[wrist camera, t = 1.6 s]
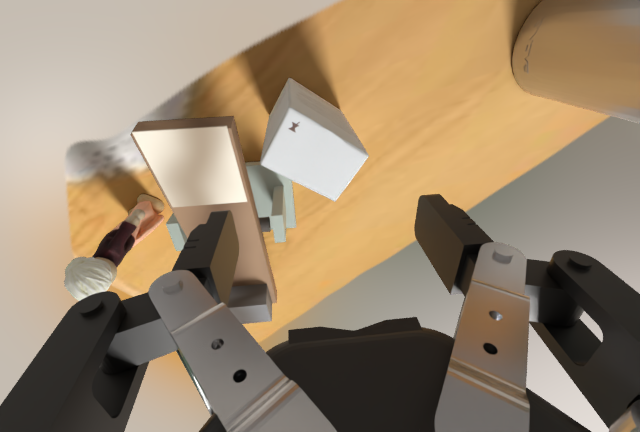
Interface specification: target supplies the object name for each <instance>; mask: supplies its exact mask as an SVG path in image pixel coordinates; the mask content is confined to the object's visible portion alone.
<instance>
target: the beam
mask: <svg viewBox="0 0 640 432" xmlns="http://www.w3.org/2000/svg"><path fill="white" fill-rule="evenodd" d="M131 136H132V138H133V140H134V142H135V144H136V146H137V147H138V149H139V151H140V153H141V155H142V156H143V158H144V160H145V162H146V164H147V166H148V167H149V169H150V171H151V173H152V175H153V177H154V178H155V180H156V182H157V184H158V186H159V187H160V189H161V191H162V193H163V195H164V197H165V198H166V200H167V202H168V204H169V206H170V208H171V209H172V211H173V213H174V215H175V217H176V218H177V220H178V222H179V224H180V226H181V228H182V229H183V231H184V233H185V235H186V237H187V238H188V237H189V235H190V232H191V231H192V230H194V229H195V228H196V227H197V226H198V225H199V224H206V223H207V220H208V218H209V216H210V213H211V212H212V211H225V210H230V211H231V212H232V215H233V219H234V224H235V228H236V232H237V236H238V241H239V256H238V261H237V265H236V270H235V274H234V279H233V283H232V288H231V292H230V297H229V301H228V305H227V307H228V308H229V309H230V311H231V312H232V313H233V314H234V315H235V317H236V318H237V319H238V320H239V321H240V323H241V324H246V323H257V322H267V321H272V303H277V290H276V286H275V282H274V278H273V274H272V270H271V266H270V262H269V258H268V254H267V249H266V245H265V241H264V237H263V233H262V232H270V218H269V217H260V218H259V217H258V213H257V209H256V205H255V201H254V197H253V193H252V189H251V185H250V181H249V177H248V173H247V169H246V165H245V160H244V156H243V152H242V148H241V144H240V140H239V136H238V132H237V128H236V124H235V120H234V116H226V117H209V118H193V119H176V120H160V121H143V122H138V123H137V125H136V127H135V128H134V130H133V131H132V133H131Z"/></svg>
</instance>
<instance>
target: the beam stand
mask: <svg viewBox="0 0 640 432" xmlns="http://www.w3.org/2000/svg"><path fill="white" fill-rule="evenodd" d="M245 165H246V169H247V173H248V177H249V181H250V185H251V189H252V193H253V197H254V201H255V205H256V209H257V213H258V217H259V218H260V217H269V218H270V229H273V232H274V238H275V243H278V242H286V228H295V227H296V217H295V207H294V197H293V187H292V180H290V179H288V178H286V177H284V176H282V175H280V174H278V173H276V172H274V171H272V170H270V169H268V168H266V167H264V166H262V165H261V164H260V161H259V162H245ZM166 226H167V228H168V231H169V233H170V236H171V239H172V241H173V244H174V247H175V249H176V251H182V249H183V247H184V245H185V243H186V242H187V239H188V238H187V237H186V235H185V233H184V231H183V229H182V228H181V226H180V224H179V222H178V220H177V218H176V217H175V215H174V213H173V214H172V216H171V217H170V219H169V220H168V222H167V223H166Z"/></svg>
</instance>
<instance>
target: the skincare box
mask: <svg viewBox="0 0 640 432" xmlns="http://www.w3.org/2000/svg"><path fill="white" fill-rule="evenodd" d="M368 157H369V155H368V153H367V152H366V150H365V148H364V147H363V145H362V143H361V142H360V140H359V139H358V137H357V135H356V134H355V132H354V131H353V129H352V127H351V126H350V124H349V122H348V121H347V119H346V118H345V116H344V114H343V113H342V111H341V110H340V109H338V108H337V107H335V106H333V105H332V104H330V103H329V102H327V101H326V100H324V99H323V98H321V97H319V96H318V95H316V94H315V93H313V92H312V91H310V90H309V89H307V88H305V87H304V86H302V85H301V84H299V83H298V82H296V81H294V80H293V79H291V78H288V80H287V82H286V84H285V86H284V88H283V90H282V92H281V94H280V95H279V97H278V99H277V101H276V103H275V105H274V108H273V110H272V112H271V114H270V116H269V120H268V124H267V129H266V135H265V140H264V145H263V150H262V155H261V160H260V164H261V165H262V166H264V167H266V168H268V169H270V170H272V171H274V172H276V173H278V174H280V175H282V176H284V177H286V178H288V179H290V180H292V181H294V182H296V183H298V184H300V185H302V186H305V187H307V188H309V189H311V190H313V191H315V192H317V193H319V194H321V195H323V196H325V197H327V198H329V199H331V200H333V201H336V200H337V199H338V197H339V196H340V195H341V193H342V192H343V191H344V189H345V188H346V187H347V185H348V184H349V182H350V181H351V180H352V178H353V177H354V176H355V174H356V173H357V172H358V170H359V169H360V168H361V166H362V165H363V164H364V162H365V161H366V159H367V158H368Z"/></svg>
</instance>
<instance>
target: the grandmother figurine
mask: <svg viewBox="0 0 640 432" xmlns="http://www.w3.org/2000/svg"><path fill="white" fill-rule="evenodd" d="M137 203H138V204H137V205H136V206H135V207H134V208H132V209H131V210H129V212H128V216H127V217H126V219H125V220H124V221H122V222H121V223H120V224H119V225H117V226H116V227H115V228H114V229H113V230H112V231H111V232H109V233H108V234H107V235H106V236H105V237H104V238H103V240H102V241H101V243H100V244H99V247H98V249H97V251H96V253H95V254H94V255H93V257H90V258H86V257H78V258H75V259H73V260H72V261H71V263H70V264H68V266H67V267H66V269H65V276H66V277H65V281H64V282H65V283H64V284H65V287H66V289H67V290H68V291H69V292H70V293H71V295H72V296H73V297H74V298H75V299H77V300H79V301H80V300H82V299H84V298H86V297H88V296H90V295H92V294H95V293H99V292H105V291H107V290H108V288H109V287H110V285H111V283H112V282H113V281H114V280H115V278H116V275H117V269H116V267H117V266H118V265H119V264H120V263H121V261H122V260H123V258H124V256H125V255H126V253H127V252H128V251H130V250H131V248H133V247H134V246H135V245H136V244H137V243H139V242H140V241H141V240H143V239H144V238H145V237H146V236H147V235H149V234H150V233H151V232H152V231H153V230H155V229H156V228H157V227H158V226H159V224H160V223H161V222H162V221H163V219H164V216H163V215H158V214H159V213H161V212H162V211H163V209H164V204H163V202H162V201H161V200H159V199H157V198H154V197H152V196H149V195H147V194H141V195H139V197H138V198H137Z"/></svg>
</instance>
